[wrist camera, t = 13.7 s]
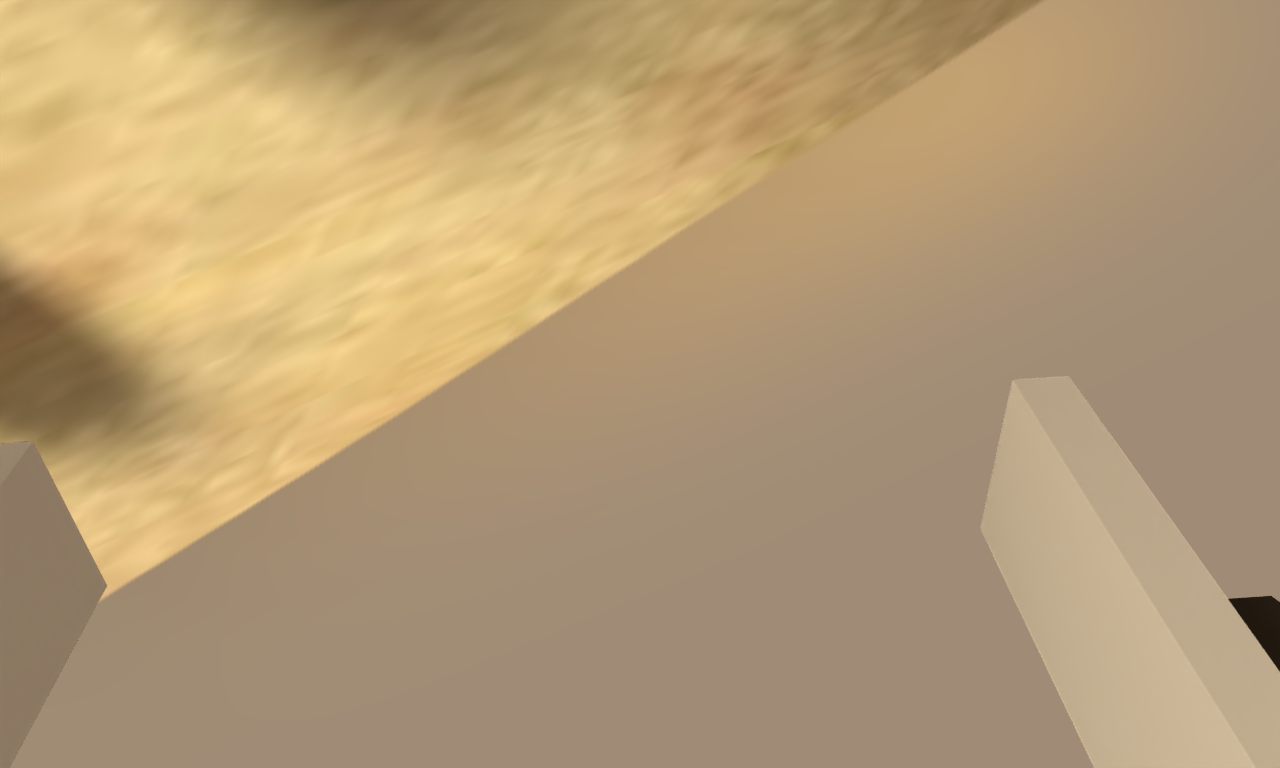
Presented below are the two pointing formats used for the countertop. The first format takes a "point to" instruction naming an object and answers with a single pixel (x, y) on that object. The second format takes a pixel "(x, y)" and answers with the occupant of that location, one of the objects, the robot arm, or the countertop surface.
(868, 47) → the countertop surface
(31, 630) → the robot arm
